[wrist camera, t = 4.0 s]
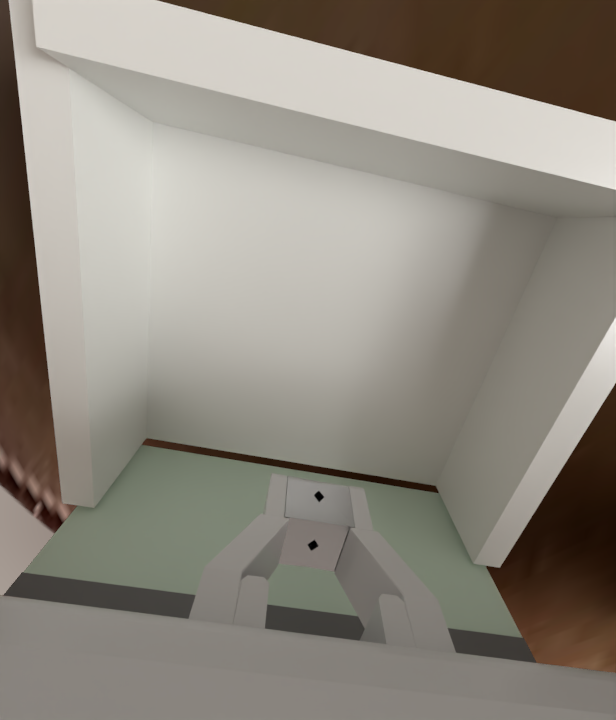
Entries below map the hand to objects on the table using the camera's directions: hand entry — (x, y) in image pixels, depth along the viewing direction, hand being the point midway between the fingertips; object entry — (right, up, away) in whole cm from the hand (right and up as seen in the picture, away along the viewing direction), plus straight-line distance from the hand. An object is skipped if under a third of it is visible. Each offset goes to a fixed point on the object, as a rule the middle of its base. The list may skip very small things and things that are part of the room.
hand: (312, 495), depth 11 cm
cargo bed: (+1, +6, +6) cm, 8 cm away
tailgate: (-1, -2, +7) cm, 8 cm away
